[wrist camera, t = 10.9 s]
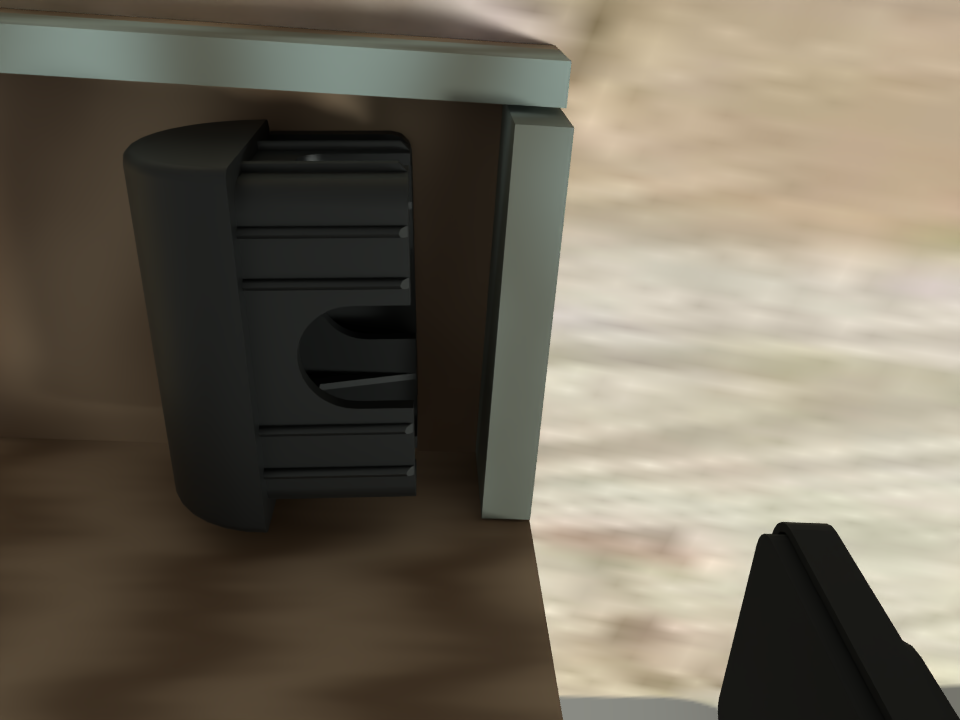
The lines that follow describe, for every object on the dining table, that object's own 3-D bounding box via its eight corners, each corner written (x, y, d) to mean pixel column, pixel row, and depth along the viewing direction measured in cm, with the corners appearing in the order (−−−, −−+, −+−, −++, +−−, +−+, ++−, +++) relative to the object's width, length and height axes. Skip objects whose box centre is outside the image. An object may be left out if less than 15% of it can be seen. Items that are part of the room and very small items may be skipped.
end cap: (164, 112, 26) (83, 171, 20) (411, 112, 27) (406, 170, 20) (206, 416, 31) (151, 539, 24) (418, 413, 31) (416, 533, 25)
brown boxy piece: (555, 45, 27) (653, 140, 15) (512, 474, 33) (557, 774, 22) (-81, 2, 26) (-510, 71, 14) (2, 459, 32) (-243, 768, 20)
